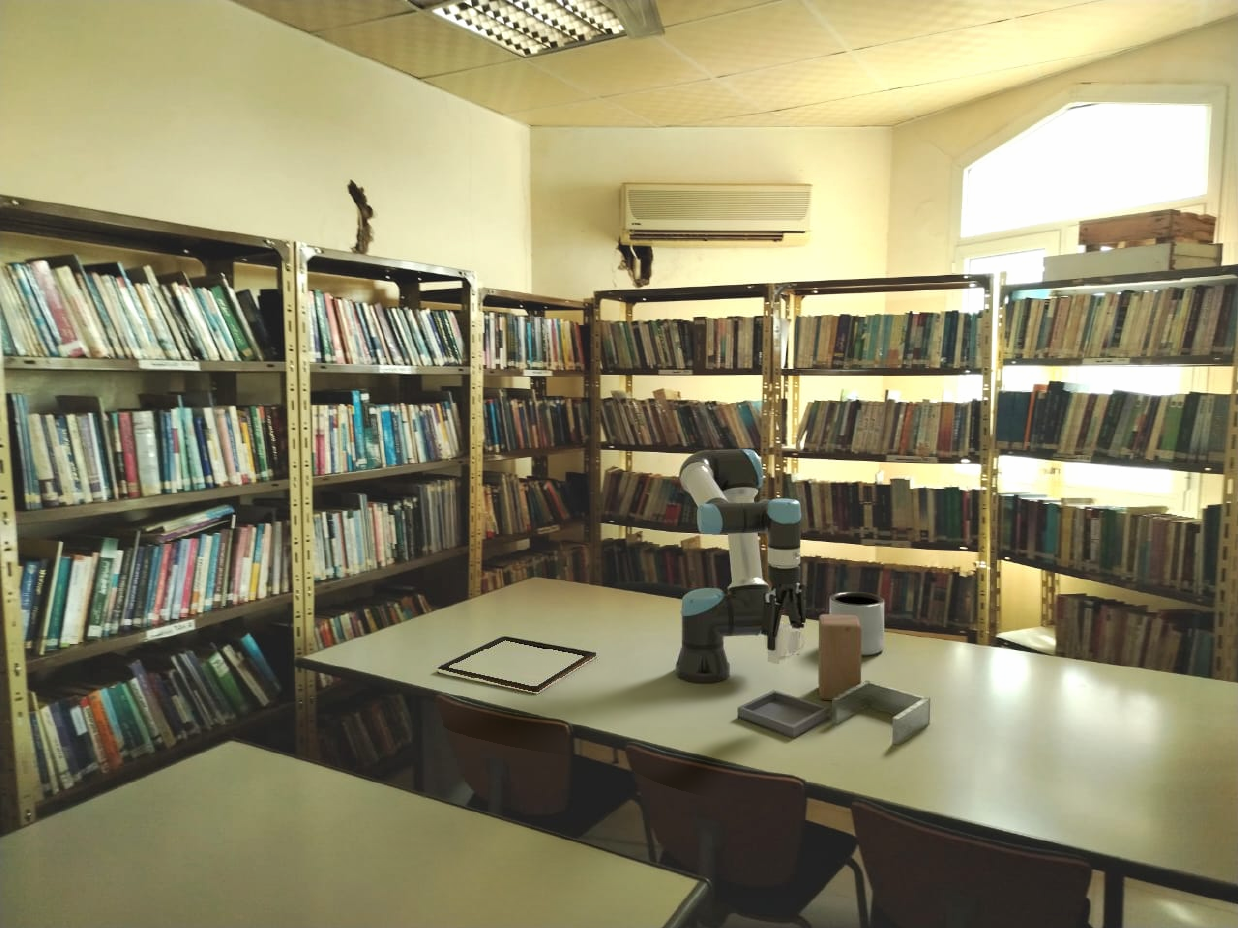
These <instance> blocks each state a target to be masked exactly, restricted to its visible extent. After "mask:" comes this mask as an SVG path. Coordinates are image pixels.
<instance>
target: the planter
mask: <svg viewBox="0 0 1238 928" xmlns="http://www.w3.org/2000/svg"><path fill="white" fill-rule="evenodd" d="M829 614H832V615H855V616H857V617H858V619H859V622H860V625H861V628H862V646H861V657H862V656H872V655H873V656H874V655H877V654H878V653H880V652H882V651H883V650H884V648H885V599H884V598H883V597H881V596H879V595H877V594H874V593H868V592H863V591H841V592H836V593H832V594H831V595H830V596H829Z"/></svg>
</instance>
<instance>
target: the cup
mask: <svg viewBox="0 0 1238 928" xmlns="http://www.w3.org/2000/svg"><path fill="white" fill-rule="evenodd" d="M795 631H798V632H800V637H801V639H802V643H801V645H800V647H799V650H797V651H796V652H795V653H793V654H790V655H787V654H788V647H789V642H790V636H791V632H795ZM777 636H779V662H781V661H782V662H783V661H786V660H787V659H792V658H793V657H795V656H797V655H796V654H798V653H799V654H800V652H801V651H802V650H803V649H804V646H805V637H804V634H803V633H802V631H801V629H800V630H798V629H792V625H791V624H790V623H787V622H786V621H785V622H782V621H780V625H779V629H778V633H777ZM764 642H765V647H766V648H765V649H766V652H767V654H768V648H767V644H768V643H767V636H766V635H764ZM786 655H787V656H786Z"/></svg>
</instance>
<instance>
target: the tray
mask: <svg viewBox="0 0 1238 928" xmlns="http://www.w3.org/2000/svg"><path fill="white" fill-rule="evenodd" d="M737 719H740V720H742V721H745V722H748V723H750V724H753V725H756V726H759V727H761V728H764V729H766V730H769V731H772V732H775V733H777V734H780V735H783V736H785V737H788V738H791V739H796V738H797V737H800V736H801V735H803V734H805V733H806V732H808V731H810V730H812V729H813V728H814V729H815V727H817V726H819V725H821V724H822V723H824V722H825V721H827V720H829V719H830V708H829V707H828V706H825V705H821V704H818V703H815V702H811V701H809V700H806V699H803V698H799V697H796V696H794V695H793V696H792V695H791V694H787V693H785V692H781V691H779V690H774V689H773V690H771V691H768V693H765V694H763V695H761V696H758V697H756V698H755V699H752V700H750V701H748V702H746V703H745V704H742V705H740V706H738V707H737Z"/></svg>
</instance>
